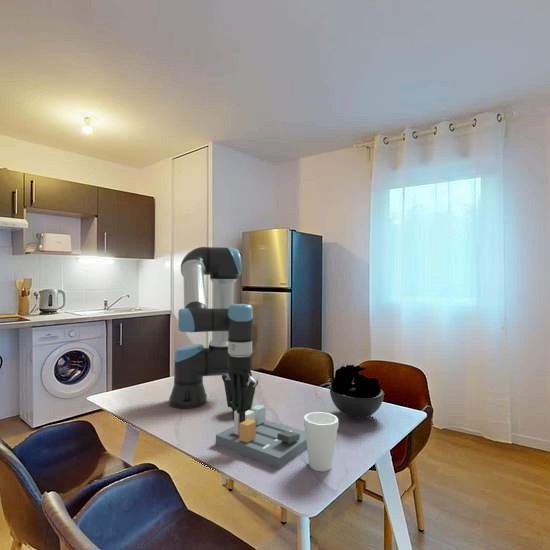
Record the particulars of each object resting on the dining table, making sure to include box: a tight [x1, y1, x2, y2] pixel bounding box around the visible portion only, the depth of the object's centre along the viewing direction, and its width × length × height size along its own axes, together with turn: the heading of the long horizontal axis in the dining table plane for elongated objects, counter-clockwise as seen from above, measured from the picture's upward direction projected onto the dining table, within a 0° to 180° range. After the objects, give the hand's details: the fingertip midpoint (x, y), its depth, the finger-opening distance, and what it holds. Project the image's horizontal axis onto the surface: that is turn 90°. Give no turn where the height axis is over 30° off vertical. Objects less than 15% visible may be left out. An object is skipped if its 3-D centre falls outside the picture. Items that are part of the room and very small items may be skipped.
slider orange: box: [239, 419, 256, 443], centre depth 107 cm, size 3×4×5 cm
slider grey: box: [251, 404, 267, 425], centre depth 120 cm, size 3×4×5 cm
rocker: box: [277, 431, 300, 443], centre depth 106 cm, size 4×6×2 cm, turn 145°
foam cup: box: [303, 411, 339, 472], centre depth 99 cm, size 10×9×13 cm
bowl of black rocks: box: [329, 364, 385, 419], centre depth 135 cm, size 20×20×19 cm
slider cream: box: [245, 410, 255, 421], centre depth 115 cm, size 3×4×5 cm
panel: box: [215, 419, 307, 470], centre depth 111 cm, size 24×19×4 cm
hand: (238, 432), depth 109 cm, fingers closed
